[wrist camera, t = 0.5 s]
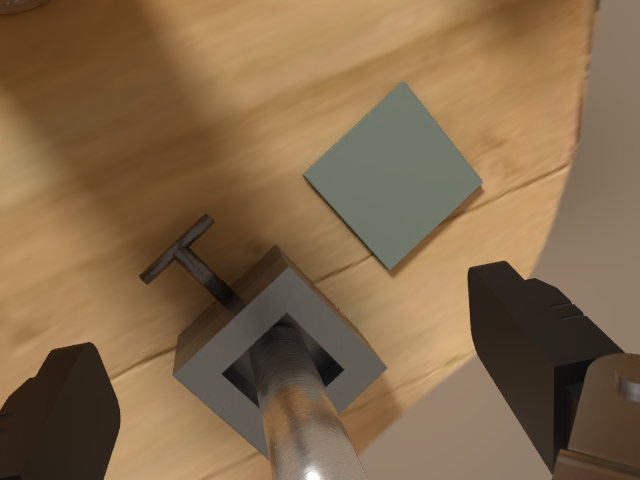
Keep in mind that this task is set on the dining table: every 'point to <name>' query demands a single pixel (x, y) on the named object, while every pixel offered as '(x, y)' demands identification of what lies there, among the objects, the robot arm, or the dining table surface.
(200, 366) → the vise
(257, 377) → the steel pin
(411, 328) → the dining table surface
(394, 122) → the mat
